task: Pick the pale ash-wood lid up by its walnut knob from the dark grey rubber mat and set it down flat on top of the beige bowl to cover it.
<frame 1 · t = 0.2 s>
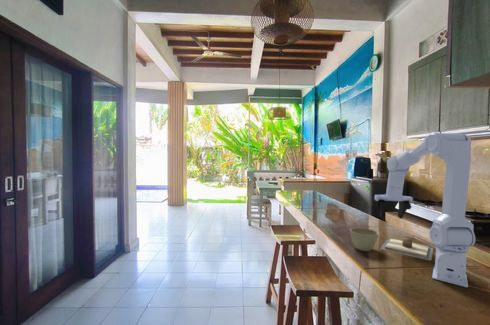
hand: (390, 217, 108), 10 cm above the counter, tool pointing down, fingers open, 7 cm apart
mat: (406, 249, 99), on the counter
lid: (407, 248, 99), resting on mat
beige bowl: (363, 249, 98), on the counter
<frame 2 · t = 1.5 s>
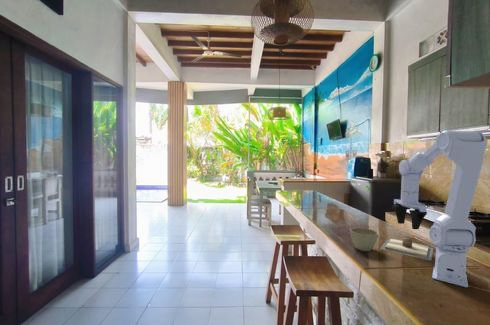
hand: (408, 226, 99), 9 cm above the counter, tool pointing down, fingers open, 7 cm apart
nothing on the counter moved.
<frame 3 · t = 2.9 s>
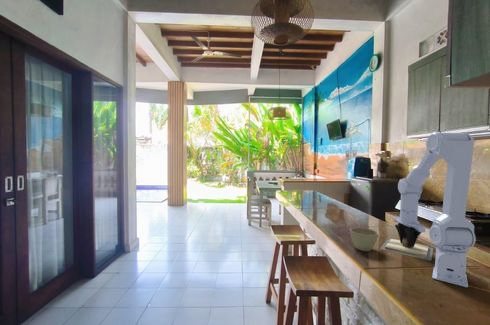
hand: (407, 244, 99), 2 cm above the counter, tool pointing down, fingers closed on lid, 3 cm apart
lid: (407, 248, 99), resting on mat, touching gripper
everything else where it was.
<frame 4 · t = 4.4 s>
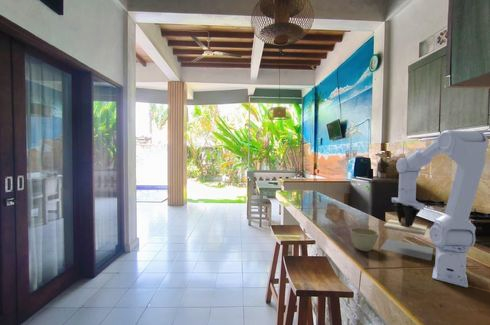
hand: (405, 224, 99), 10 cm above the counter, tool pointing down, fingers closed on lid, 3 cm apart
lid: (405, 227, 99), point 9 cm above the counter, touching gripper
everything else where it was.
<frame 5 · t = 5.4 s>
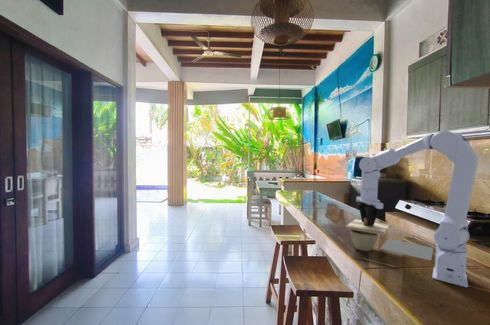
hand: (367, 223, 98), 10 cm above the counter, tool pointing down, fingers closed on lid, 3 cm apart
lid: (368, 227, 98), point 9 cm above the counter, touching gripper
everything else where it was.
when the fingers open (9 cm above the counter, at t = 6.3 s): lid stays where it is, resting on beige bowl.
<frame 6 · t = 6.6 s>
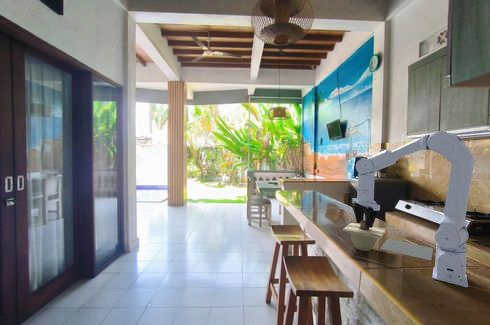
hand: (364, 225, 98), 9 cm above the counter, tool pointing down, fingers open, 6 cm apart
lid: (364, 231, 98), point 7 cm above the counter, touching beige bowl
beige bowl: (363, 249, 98), on the counter, touching lid
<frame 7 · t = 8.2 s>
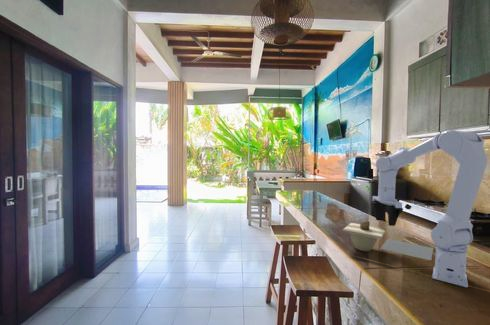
hand: (385, 222, 98), 10 cm above the counter, tool pointing down, fingers open, 7 cm apart
nothing on the counter moved.
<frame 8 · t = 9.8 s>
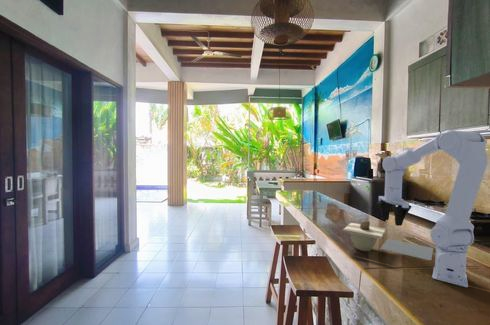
hand: (391, 222, 99), 10 cm above the counter, tool pointing down, fingers open, 7 cm apart
nothing on the counter moved.
at the end: lid 0.3 cm from the beige bowl (horizontally); lid point 7.1 cm above the counter; the gripper is holding nothing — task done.
